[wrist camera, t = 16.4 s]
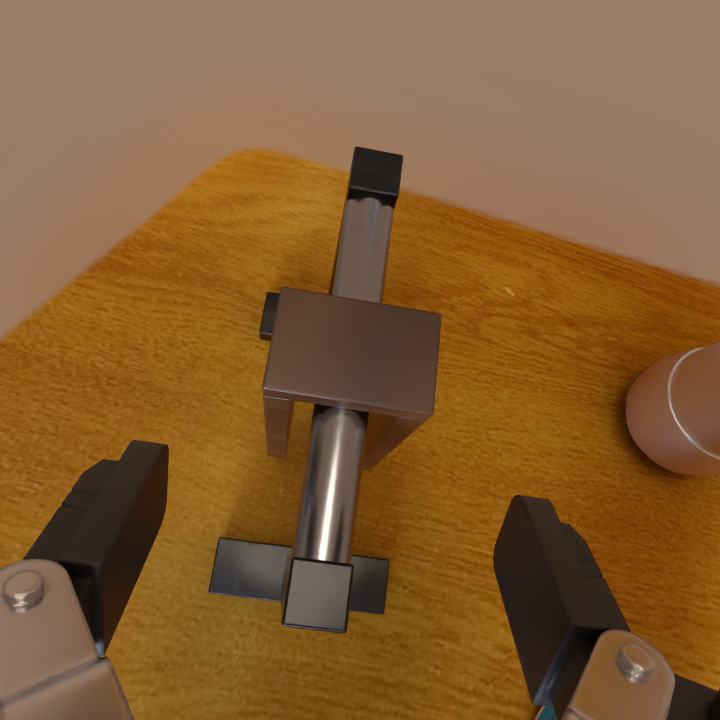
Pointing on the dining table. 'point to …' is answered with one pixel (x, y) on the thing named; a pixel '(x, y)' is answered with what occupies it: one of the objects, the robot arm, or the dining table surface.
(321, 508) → the rack
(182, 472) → the dining table surface
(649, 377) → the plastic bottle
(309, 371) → the two-legged arch bridge
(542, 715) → the beverage bottle
